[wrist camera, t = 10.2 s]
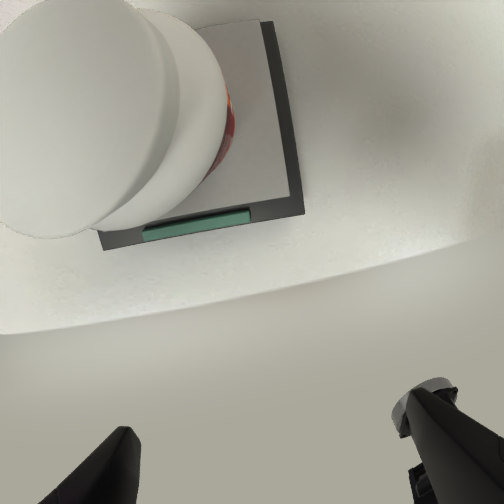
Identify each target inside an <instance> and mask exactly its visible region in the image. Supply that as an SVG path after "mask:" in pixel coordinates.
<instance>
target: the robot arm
mask: <svg viewBox="0 0 504 504" xmlns="http://www.w3.org/2000/svg"><path fill="white" fill-rule="evenodd" d="M457 392H458V389H457V387H453V388H450V389H448V390H446V391H443V392H441V393H438V394H435V395H434V394H433V393H431V392H430V391H428V390H427V389H425V388H423V387H418V388H415V389H412V390H410V392H409V395H408V399H407V403H406V414H405V418H404V421H403V424H402V428H401V431H400V434H399V436H400V438H405V437H408V436H410V435H411V436H412V438H413V440H414V443H415V445H416V447H417V450H418V453H419V455H420V458H421V460H422V463H421V464H419V465H417V466H416V467H414V468H412V469H410V470H409V471H408V472H409V480H410V484H411V489H412V494H413V499H414V504H504V438H502V437H501V436H499V437H498V435H497V434H496V433H494V432H493V431H491V430H489V429H488V428H486V427H484V426H483V425H481V424H480V423H478V422H477V421H475V420H474V419H472V418H470V417H468V416H467V415H466V414H464V413H462V412H461V411H459V410H458V408H457V407H456V405H455V404H454V400H455V397H456V395H457ZM140 457H141V442H140V440H139V438H138V437H137V436H136V434H135V433H134V431H133V430H132V428H131V427H128V426H127V427H126V426H119V427H117V428H116V429H115V430H114V431H113V432H112V433H111V434H110V435H109V436H108V438H106V439H105V440H104V441H103V442H102V443H101V444H100V445H99V446H98V447H97V448H96V449H95V450H94V451H93V452H92V453H91V454H90V455H89V456H88V457H87V458H86V459H85V460H84V461H83V462H82V463H81V464H80V465H79V466H78V467H77V468H76V469H75V470H74V471H73V472H72V473H71V474H70V475H69V476H68V477H67V478H65V479H64V480H63V481H62V482H61V483H60V484H59V485H58V486H57V488H56V489H54V490H53V491H52V492H51V493H50V494H49V495H47V496H46V497H45V498H44V499H43V500H42V501H41V502H39V503H38V504H136V499H137V494H138V487H139V477H140Z"/></svg>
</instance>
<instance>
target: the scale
mask: <svg viewBox="0 0 504 504" xmlns="http://www.w3.org/2000/svg"><path fill="white" fill-rule="evenodd" d="M194 31H196V32H197V33H198V34H199V35H200V36H201V37H202V39H203V40H204V41H205V42H206V44H207V45H208V46H209V48H210V49H211V51H212V53H213V54H214V56H215V58H216V60H217V62H218V64H219V66H220V68H221V71H222V74H223V77H224V80H225V83H226V86H227V89H228V92H229V95H230V98H231V101H232V104H233V108H234V113H235V131H234V136H233V140H232V143H231V145H230V148H229V150H228V152H227V154H226V156H225V157H224V159H223V160H222V162H221V163H220V164H219V165H218V167H217V168H216V169H215V170H214V171H213V172H212V173H210V174H209V175H208V176H207V178H206V179H205V180H204V181H203V182H202V183H201V184H200V185H199V186H198V187H197V188H196V189H195V190H194V191H193V192H192V193H191V194H190V195H189V196H188V197H187V198H186V199H184V200H183V201H182V202H181V203H179V204H178V205H177V206H176V207H174V208H173V209H172V210H170V211H169V212H167V213H166V214H164V215H162V216H161V217H159V218H157V219H155V220H153V221H151V222H149V223H146V224H143V225H141V226H137V227H134V228H129V229H124V230H115V231H102V230H97V231H98V235H99V238H100V241H101V244H102V248H103V250H104V251H105V250H110V249H115V248H120V247H125V246H130V245H135V244H140V243H145V242H150V241H156V240H161V239H166V238H171V237H177V236H182V235H187V234H193V233H198V232H204V231H209V230H215V229H221V228H226V227H232V226H238V225H244V224H249V223H255V222H261V221H267V220H273V219H279V218H285V217H292V216H298V215H304V214H305V208H304V200H303V192H302V185H301V177H300V170H299V163H298V156H297V150H296V143H295V137H294V130H293V124H292V118H291V112H290V106H289V100H288V95H287V89H286V84H285V78H284V73H283V68H282V63H281V58H280V53H279V48H278V43H277V38H276V33H275V29H274V24H273V21H268V22H260V21H259V19H255V20H247V21H240V22H233V23H227V24H221V25H215V26H210V27H205V28H200V29H195V30H194Z"/></svg>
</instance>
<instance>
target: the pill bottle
mask: <svg viewBox="0 0 504 504" xmlns="http://www.w3.org/2000/svg"><path fill="white" fill-rule="evenodd" d="M234 131H235V113H234V108H233V104H232V101H231V98H230V95H229V92H228V89H227V86H226V83H225V80H224V77H223V74H222V71H221V68H220V66H219V64H218V62H217V60H216V58H215V56H214V54H213V53H212V51H211V49H210V48H209V46H208V45H207V44H206V42H205V41H204V40H203V39H202V37H201V36H200V35H199V34H198V33H197V32H196V31H194V30H193V29H192V28H191V27H189V26H188V25H187V24H185V23H184V22H182V21H181V20H179V19H177V18H175V17H173V16H170V15H168V14H165V13H162V12H159V11H155V10H150V9H140V8H134V7H133V6H132V5H131V4H129V3H127V2H126V1H124V0H45V1H43V2H40V3H39V4H37V5H35V6H33V7H32V8H30V9H29V10H27V11H26V12H24V13H23V14H22V15H21V16H19V17H18V18H17V19H16V20H15V21H13V22H12V23H11V24H10V25H9V26H8V27H7V28H6V30H5V31H4V32H3V33H2V34H1V35H0V222H1V223H2V224H3V225H5V226H6V227H8V228H9V229H11V230H13V231H15V232H17V233H19V234H22V235H25V236H29V237H32V238H40V239H56V238H62V237H67V236H71V235H74V234H77V233H80V232H82V231H84V230H86V229H93V230H102V231H115V230H124V229H129V228H134V227H137V226H141V225H143V224H146V223H149V222H151V221H153V220H155V219H157V218H159V217H161V216H162V215H164V214H166V213H167V212H169V211H170V210H172V209H173V208H174V207H176V206H177V205H178V204H179V203H181V202H182V201H183V200H184V199H186V198H187V197H188V196H189V195H190V194H191V193H192V192H193V191H194V190H195V189H196V188H197V187H198V186H199V185H200V184H201V183H202V182H203V181H204V180H205V179H206V178H207V176H208V175H209V174H210V173H212V172H213V171H214V170H215V169H216V168H217V167H218V165H219V164H220V163H221V162H222V160H223V159H224V157H225V156H226V154H227V152H228V150H229V148H230V145H231V143H232V140H233V136H234Z"/></svg>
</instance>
